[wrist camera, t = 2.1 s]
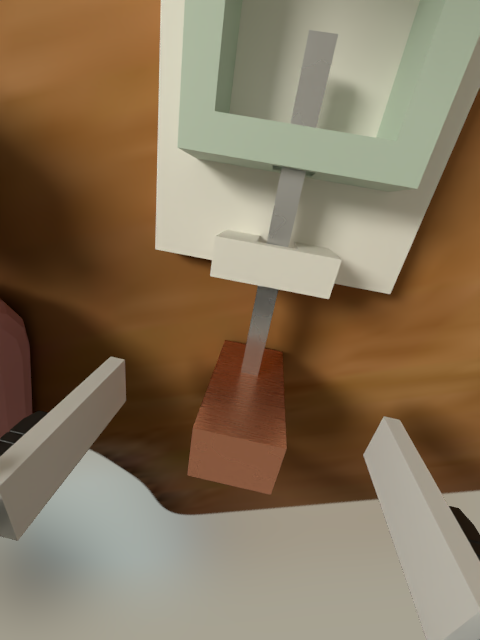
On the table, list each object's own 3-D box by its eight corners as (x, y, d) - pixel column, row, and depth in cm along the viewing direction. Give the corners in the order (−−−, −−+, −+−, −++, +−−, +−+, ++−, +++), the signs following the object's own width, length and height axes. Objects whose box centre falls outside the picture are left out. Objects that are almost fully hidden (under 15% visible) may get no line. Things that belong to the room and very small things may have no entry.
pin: (355, 82, 11) (477, -104, 4) (272, 387, 17) (270, 494, 11) (268, 68, 11) (257, -129, 4) (219, 376, 17) (187, 475, 11)
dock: (529, -84, 9) (736, -318, 5) (379, 285, 14) (418, 316, 10) (181, -127, 9) (112, -367, 5) (166, 244, 15) (126, 259, 11)
